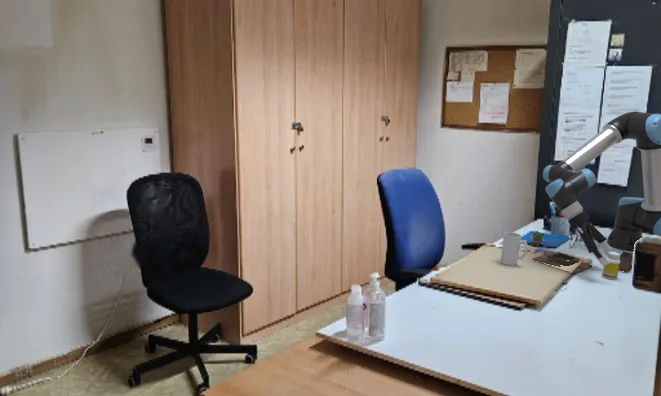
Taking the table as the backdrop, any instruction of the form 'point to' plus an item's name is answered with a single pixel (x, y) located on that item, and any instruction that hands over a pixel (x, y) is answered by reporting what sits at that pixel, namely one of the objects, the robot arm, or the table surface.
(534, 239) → the geometric puzzle
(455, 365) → the table surface
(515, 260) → the mug
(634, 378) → the table surface
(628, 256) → the electronic device
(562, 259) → the holder
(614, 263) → the supplement bottle
